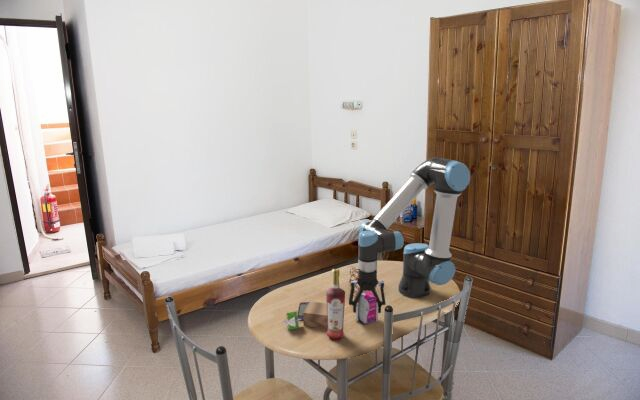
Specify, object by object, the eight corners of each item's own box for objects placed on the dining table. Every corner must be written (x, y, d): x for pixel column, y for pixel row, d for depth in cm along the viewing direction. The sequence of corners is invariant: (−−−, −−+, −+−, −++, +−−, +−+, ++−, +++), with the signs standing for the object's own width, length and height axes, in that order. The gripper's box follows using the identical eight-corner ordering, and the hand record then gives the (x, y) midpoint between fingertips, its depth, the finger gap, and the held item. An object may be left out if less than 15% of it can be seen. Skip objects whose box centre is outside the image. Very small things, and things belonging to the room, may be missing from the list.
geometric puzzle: (280, 318, 191) (283, 309, 185) (296, 315, 193) (300, 306, 187) (285, 334, 187) (288, 326, 181) (301, 331, 189) (304, 322, 183)
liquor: (326, 341, 178) (326, 274, 171) (326, 331, 185) (325, 266, 178) (345, 341, 178) (346, 274, 171) (344, 331, 185) (344, 266, 178)
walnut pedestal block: (332, 316, 197) (332, 304, 195) (327, 328, 187) (327, 315, 186) (309, 314, 199) (309, 301, 198) (303, 325, 190) (303, 312, 188)
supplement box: (364, 324, 189) (365, 299, 186) (357, 318, 194) (357, 293, 191) (376, 321, 192) (377, 296, 189) (368, 315, 197) (369, 290, 194)
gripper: (392, 265, 190) (390, 315, 196) (342, 264, 191) (342, 314, 197) (394, 272, 183) (392, 324, 189) (342, 272, 184) (342, 323, 190)
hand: (366, 319), depth 193 cm, fingers closed on supplement box, 8 cm apart
